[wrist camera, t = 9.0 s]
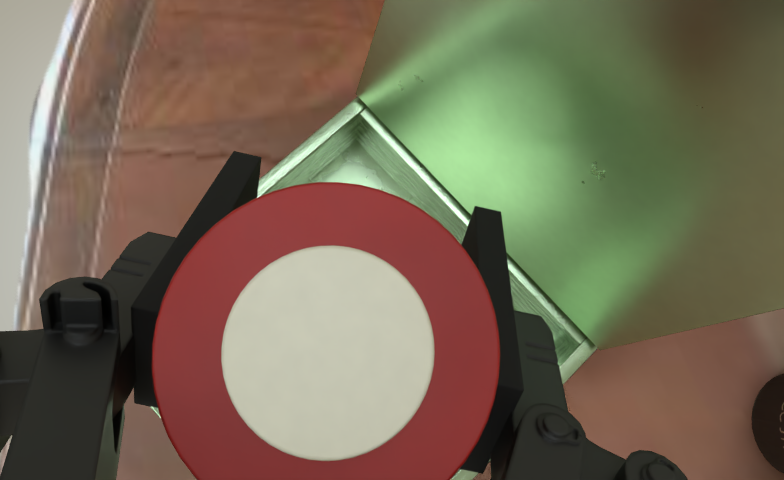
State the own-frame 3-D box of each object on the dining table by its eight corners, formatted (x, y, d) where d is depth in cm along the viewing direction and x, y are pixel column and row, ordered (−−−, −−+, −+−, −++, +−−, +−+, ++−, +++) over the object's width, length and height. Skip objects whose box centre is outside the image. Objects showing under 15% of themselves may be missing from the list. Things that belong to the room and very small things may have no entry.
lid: (1064, 245, 14) (1075, 223, 14) (481, -316, 15) (502, -325, 15) (600, 351, 32) (608, 340, 32) (355, 94, 33) (365, 86, 33)
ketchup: (213, 345, 22) (12, 340, 8) (337, 234, 23) (342, 67, 9) (326, 471, 22) (313, 686, 8) (447, 352, 23) (621, 359, 9)
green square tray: (337, 579, 34) (337, 621, 29) (118, 331, 35) (80, 328, 30) (564, 346, 37) (600, 345, 32) (356, 127, 39) (360, 93, 34)
